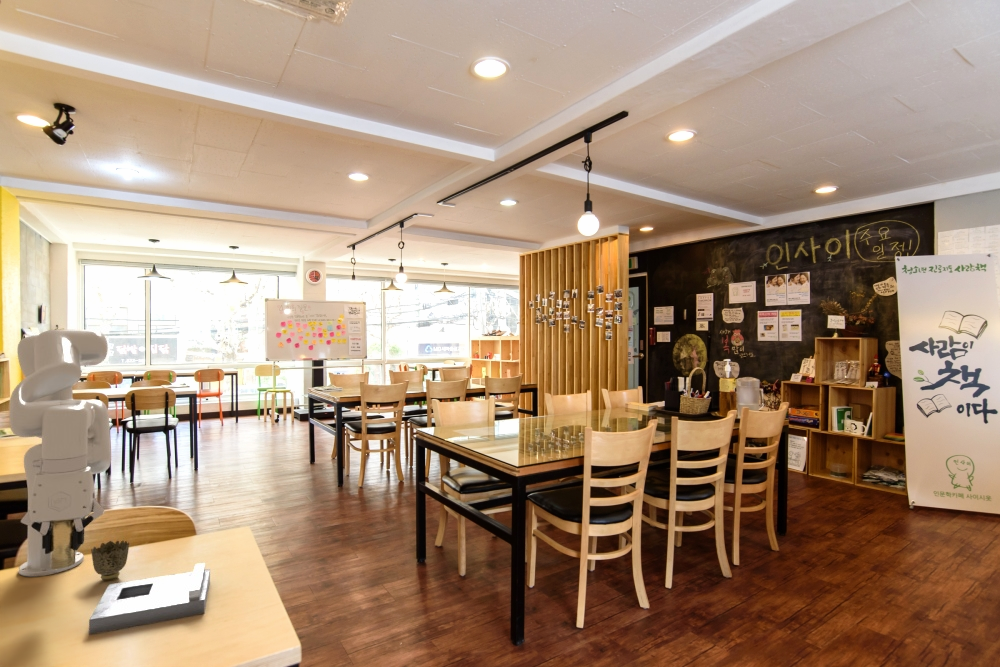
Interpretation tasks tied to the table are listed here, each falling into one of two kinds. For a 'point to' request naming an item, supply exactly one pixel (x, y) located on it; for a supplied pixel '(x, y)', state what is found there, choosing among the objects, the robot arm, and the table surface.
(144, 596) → the plate
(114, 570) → the cup
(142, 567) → the table surface
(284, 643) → the table surface
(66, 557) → the brass bushing
